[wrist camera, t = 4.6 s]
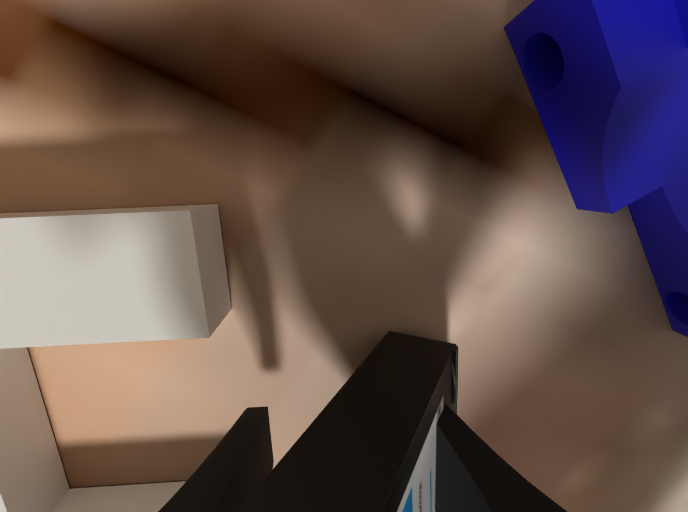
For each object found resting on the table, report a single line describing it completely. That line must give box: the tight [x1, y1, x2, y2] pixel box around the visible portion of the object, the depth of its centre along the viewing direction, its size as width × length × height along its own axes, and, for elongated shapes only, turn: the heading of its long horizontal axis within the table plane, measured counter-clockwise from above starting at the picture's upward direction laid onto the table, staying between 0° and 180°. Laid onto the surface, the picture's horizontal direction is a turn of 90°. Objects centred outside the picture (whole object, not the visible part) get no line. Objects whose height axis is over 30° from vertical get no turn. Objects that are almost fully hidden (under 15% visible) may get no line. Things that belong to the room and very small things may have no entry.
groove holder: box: [0, 204, 231, 512], centre depth 11 cm, size 14×9×2 cm, turn 2°
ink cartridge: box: [238, 331, 458, 512], centre depth 8 cm, size 5×2×8 cm
